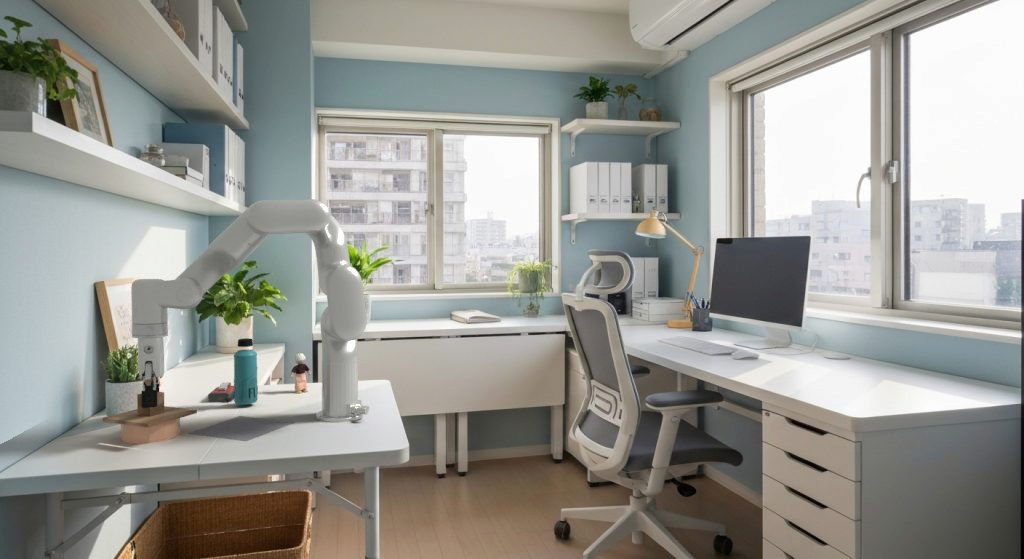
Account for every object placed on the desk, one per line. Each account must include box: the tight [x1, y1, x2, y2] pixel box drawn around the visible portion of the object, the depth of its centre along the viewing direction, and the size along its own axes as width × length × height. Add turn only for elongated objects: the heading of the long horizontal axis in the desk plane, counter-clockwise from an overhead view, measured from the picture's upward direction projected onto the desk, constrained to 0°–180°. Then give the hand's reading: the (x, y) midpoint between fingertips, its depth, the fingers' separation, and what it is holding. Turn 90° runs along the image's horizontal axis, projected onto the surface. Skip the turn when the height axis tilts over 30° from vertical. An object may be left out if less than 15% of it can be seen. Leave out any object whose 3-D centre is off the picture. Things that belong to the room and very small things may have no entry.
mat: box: [187, 415, 296, 442], centre depth 163 cm, size 18×18×1 cm
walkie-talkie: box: [207, 382, 234, 404], centre depth 200 cm, size 9×4×20 cm
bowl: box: [120, 418, 181, 445], centre depth 154 cm, size 12×12×5 cm
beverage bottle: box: [233, 338, 259, 405], centre depth 185 cm, size 6×7×20 cm
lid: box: [102, 391, 198, 427], centre depth 154 cm, size 14×14×6 cm
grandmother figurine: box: [289, 352, 312, 394], centre depth 206 cm, size 8×4×13 cm, turn 154°
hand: (150, 403), depth 154 cm, fingers open, 7 cm apart
